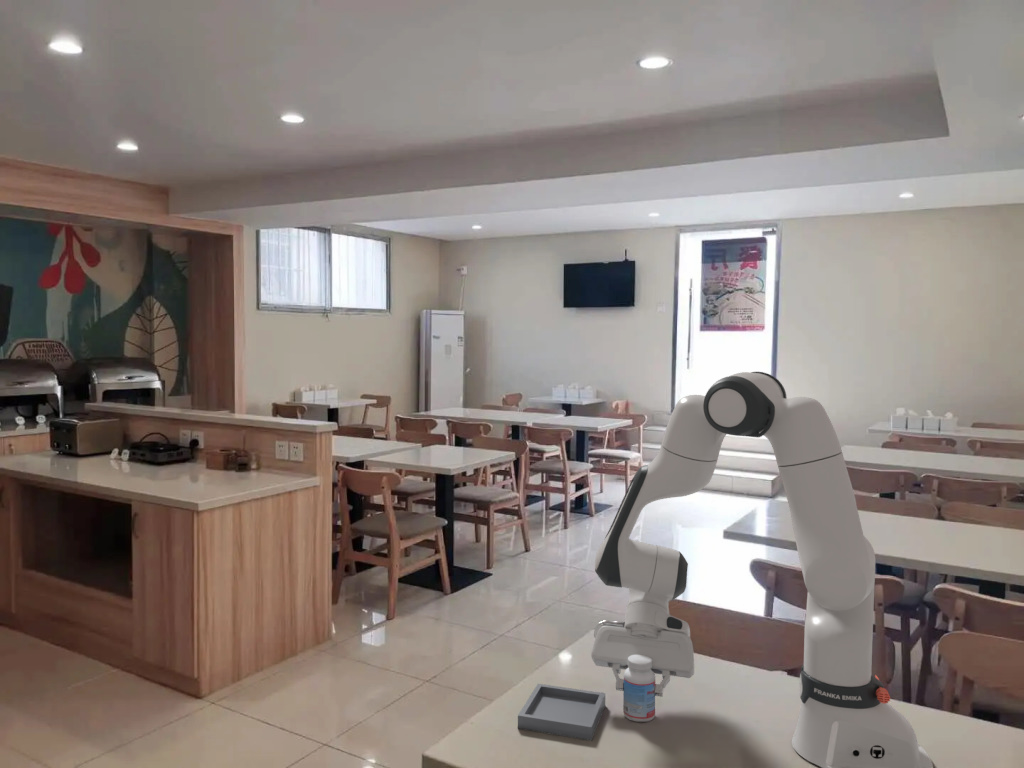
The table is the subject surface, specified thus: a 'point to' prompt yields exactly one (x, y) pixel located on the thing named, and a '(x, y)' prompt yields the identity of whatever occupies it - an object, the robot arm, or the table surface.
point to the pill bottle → (639, 689)
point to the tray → (562, 711)
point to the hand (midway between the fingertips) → (638, 692)
